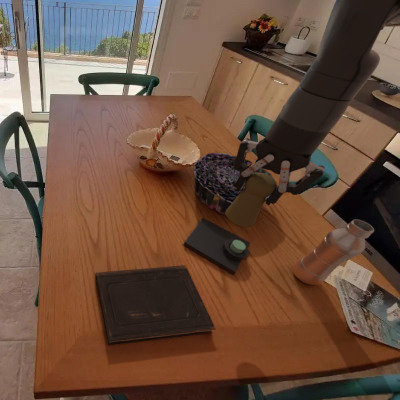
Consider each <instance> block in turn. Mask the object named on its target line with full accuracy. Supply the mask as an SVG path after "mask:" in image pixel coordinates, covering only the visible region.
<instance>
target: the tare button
mask: <svg viewBox="0 0 400 400" xmlns="http://www.w3.org/2000/svg"><path fill="white" fill-rule="evenodd" d="M230 248H231V250H232V251H233V252H235V253H242V252H243V251H244V249H245V248H246V246H245V244H244V243H243V242H241V241H239V240H234V241H233V242H232V244H231V245H230Z"/></svg>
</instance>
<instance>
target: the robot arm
mask: <svg viewBox="0 0 400 400" xmlns="http://www.w3.org/2000/svg"><path fill="white" fill-rule="evenodd" d="M383 27H384V28H385V27H389V28H393V27H400V0H335V1H334V4H333V6H332V9H331V12H330V14H329V18H328V20H327V24H326V26H325V29H324V32H323V35H322V37H321V41H320V44H319V47H318V51H317V54H316V56H315V58H314V59H313V61H312V63H311V64H310V66H309V68H308V69H307V71H306V73H305V74H304V76H303V77H302V79H301V80H300V82H299V84H298V85H297V87H296V88H295V89H294V90H293V92H292V93H291V94H290V96H289V97H288V99H287V100H286V101H285V104H283V106H282V108H281V109H280V112H279V113H278V115H277V117H276V118H275V120H274V121H273V123H272V125H271V126H270V128H269V129H268V132H267V133H266V135H264V137H263V139H260V140H259V141H253V140H251V139H250V138H249V137H245V138H243V140H242V141H241V142H240V143H239V146H238V148H237V149H238V150H237V153H236V156H237V157H236V161H235V164H234V169H235V170H237V171H239V172H240V177H239V178H238V180H237V182H236V183H235V187H236V188H237V189H236V191H240V189H241V188H242V186H243V184H244V183H245V181H246V180H247V178H248V177H249V175H250V174H251V173H253V172H255V171H257V170H258V169H260V168H261V167H262V168H263V169H264V170H266V171H271V172H272V173H273V174H275V175H278V176H279V179H278V184H277V187H276V189H275V191H274V192H273V193H272V194H271V195H270V196H269V197H268V199H267V201H265V202H264V204H265V205H267V206H270V205H271V204H272V205H274V204H276V203H277V202H278V201H279V199H281V197H282V196H283V194H287V193H289V194H291V195H292V196H297V195H299V194H300V193H301V192H303V191H304V190H306V189H307V188H308V187H310V186H311V185H312V184H313V183H316V182H317V181H318V180H319V179H320V178H322V177H323V176H324V173H325V169H326V168H325V166H324V165H322V164H319V165H317V164H316V163H314V162H312V161H311V160H312V158H311V157H312V155H313V154H314V152H315V151H316V150H317V149H318V148H319V146H320V145H321V144H322V143H323V142H324V140H325V139H326V137H327V136H328V135H329V133H330V132H331V131H332V129H334V127H335V126H336V125H337V124H338V122H339V121H340V120H341V119H342V117H343V116H344V114H345V113H346V111H347V109H348V107H349V105H350V104H351V103H352V101H353V100H354V98H355V97H356V96H357V94H358V93H359V92H360V91H361V89H362V88H363V87H364V86H365V84H366V83H367V82H368V80H369V79H370V77H372V75H373V73H374V72H375V71H376V69H377V68H378V66H379V64H380V61H381V56H380V55H379V53H378V52H377V51H375V50H374V49H373V47H374V45H375V43H376V41H377V39H378V37H379V35H380V33H381V31H382V29H383ZM254 149H255V151H256V152H255V153H256V156H257V158H256V159H254V160H253V161H251V162H252V163H251V164H249V165H248V166H246V165H245V164H244V161H245V159H246V157H247V155H248V154H250V153H251V152H252V151H253V150H254ZM304 168H305V172H304V175H303V176H302V177H301V178H299V179H298V180H297V181H296V182H295V183H290V178H291V175H292V173H293V172H295V171H299V170H301V169H304Z"/></svg>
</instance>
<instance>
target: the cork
mask: <svg viewBox="0 0 400 400" xmlns="http://www.w3.org/2000/svg"><path fill="white" fill-rule="evenodd" d="M272 177H273V176H272ZM272 177H271V176H270V175H267V174H264V173H253V174H251V175H250V176H249V177H248V178H247V180H246V183H245V186H246V187H245V188H244V189H243V191H242V192H241V193H240V194H239V195H238V197H237V198H236V199H235V200H234V201H233V203H232V204H231V205H230V206H229V207H228V209H227V210H226V213H225V214H226V215H225V216H226V218H227V219H228V220H229V222H231V223H233V224H234V225H237V226H240V227H244V228H249V227H252V226H254V224H255V223H256V221H257V219H258V216H259V214H260V212H261V210H262V208H263V206H264V204H265V202H266V201H265V199H266V197H267V196H269V195H271V194H272V193H273V192H274V191H275V189H276V187H277V185H278V184H277V180H276V179H275V178H274V177H273V178H272ZM276 184H277V185H276ZM264 201H265V202H264Z"/></svg>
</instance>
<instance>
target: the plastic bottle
mask: <svg viewBox="0 0 400 400" xmlns="http://www.w3.org/2000/svg"><path fill="white" fill-rule="evenodd" d="M374 232H375V228H374V227H373V226H372V225H371V224H369V223H368V222H366V221H364V220H363V219H362V220H361V219H358V218H357V219H356V218H355V219H353V220H352V221H350V222H349V223H347V225H346V226H345V227H340V228H334V229H332V230H329V231H328V232H327V234H326V235H325V236H324V237H323V238H322V240H321V241H320V243H319V244H318V245H317V246H316V247H315V248H314V249H313V250H311V252H309V253H308V254H306V255H305V256H303V257H301V258H299V259H298V260H296V261H295V262H294V264H293V266H292V272H293V275H294V276H295V277H296V278H297V279H298V280H299V281H300V282H302V283H304V284H306V285H310V286H311V285H312V286H317V285H320V284H322V283H324V282H325V281H326V280H327V279H328V278H329V276H330V275H331V274H332V273H333V272H334V271H335V270H336V269H337V268H339V267H340V266H341V265H343V264H344V263H346V262H348V261H349V260H351V259H353V258H355V257H358V256H359V255H361V254H362V253H363V252H364V251H365V249H366V240H365V239H368V238H369V237H370V236H371V235H372V234H373V233H374Z"/></svg>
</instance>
